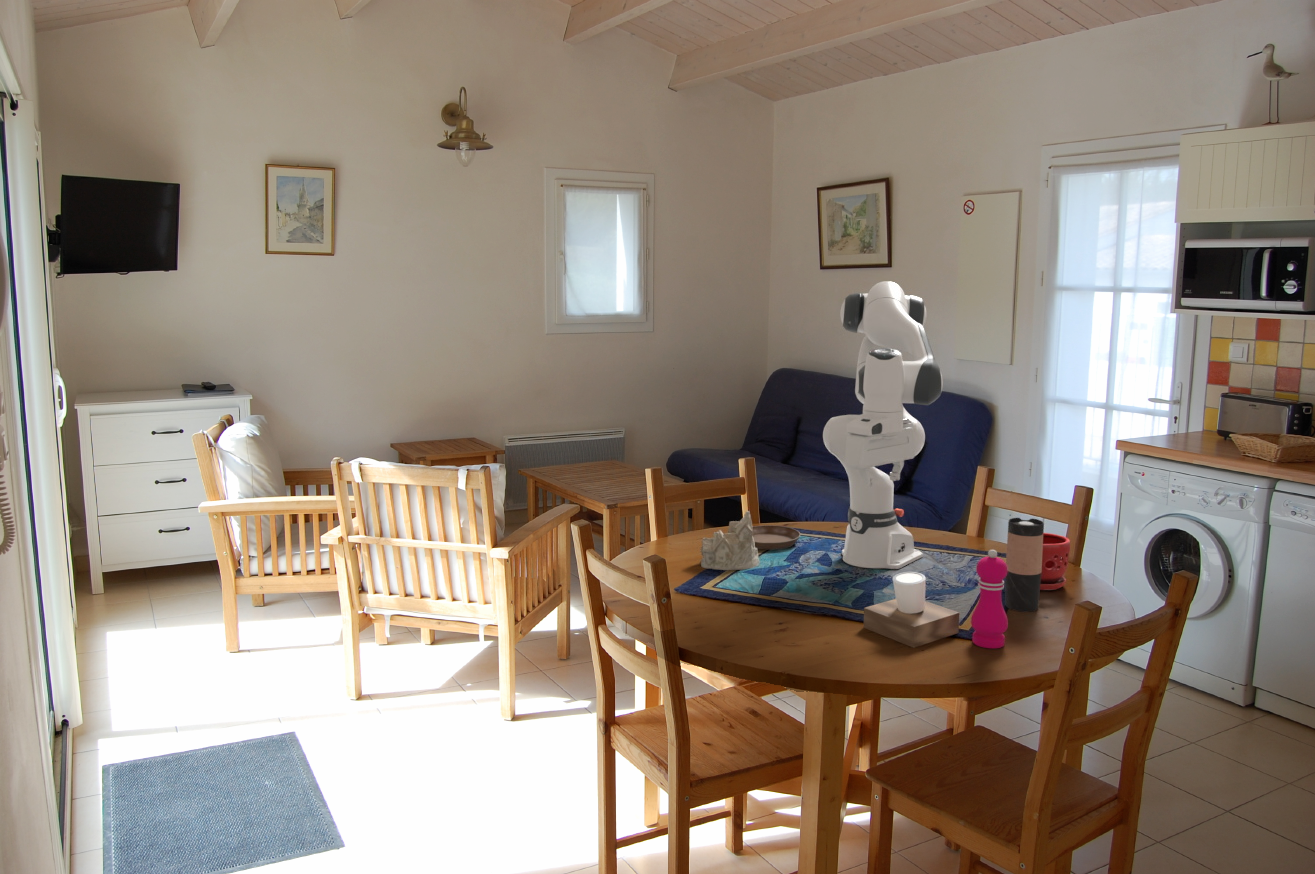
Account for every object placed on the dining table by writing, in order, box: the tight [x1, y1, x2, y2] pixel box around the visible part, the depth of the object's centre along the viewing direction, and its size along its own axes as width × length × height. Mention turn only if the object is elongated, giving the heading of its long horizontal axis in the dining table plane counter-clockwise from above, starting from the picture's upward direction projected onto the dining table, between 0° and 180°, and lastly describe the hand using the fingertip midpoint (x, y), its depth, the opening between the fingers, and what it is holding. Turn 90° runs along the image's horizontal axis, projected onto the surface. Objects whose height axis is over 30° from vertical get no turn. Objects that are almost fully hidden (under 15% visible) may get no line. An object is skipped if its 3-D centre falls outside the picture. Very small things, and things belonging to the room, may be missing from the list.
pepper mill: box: [970, 549, 1009, 649], centre depth 200 cm, size 7×7×20 cm
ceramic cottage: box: [700, 510, 760, 571], centre depth 259 cm, size 16×16×15 cm
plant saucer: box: [752, 524, 801, 551], centre depth 277 cm, size 18×18×3 cm
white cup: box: [892, 571, 927, 614], centre depth 208 cm, size 7×7×7 cm
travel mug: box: [1004, 517, 1045, 613], centre depth 222 cm, size 8×8×20 cm
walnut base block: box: [863, 598, 960, 649], centre depth 209 cm, size 14×14×5 cm
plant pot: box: [1040, 532, 1071, 591], centre depth 237 cm, size 13×13×12 cm
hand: (881, 483), depth 220 cm, fingers open, 8 cm apart
